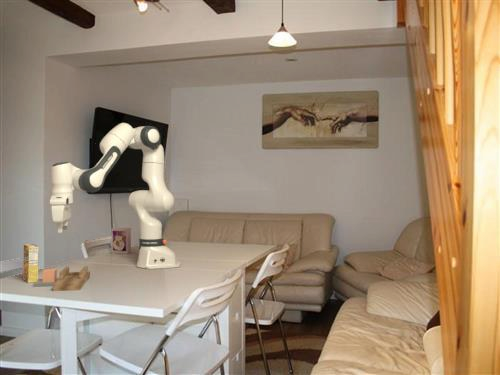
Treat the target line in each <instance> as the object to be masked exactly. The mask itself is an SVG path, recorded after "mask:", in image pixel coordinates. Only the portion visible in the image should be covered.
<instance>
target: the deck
mask: <svg viewBox="0 0 500 375" xmlns="http://www.w3.org/2000/svg"><path fill="white" fill-rule="evenodd" d="M88 268H89V267H88V265H85V266H83V268H82V269H81V270H80V271H70V266H65V267H64V268H63V269H61V271H59V277H58V278H59V280H57V281H56V282H55V283H54V284H53V286H52V291H55V292H56V291H61V292H62V291H80V290H81V289H82V288H83V287H84V285H86V283H87V282H88V280H90V278H91V271H89V270H88Z"/></svg>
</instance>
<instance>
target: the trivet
mask: <svg viewBox="0 0 500 375" xmlns="http://www.w3.org/2000/svg"><path fill="white" fill-rule="evenodd" d="M57 280H59V277H57ZM57 280H56V281H57ZM56 281H55V282H56ZM55 282H43V278H38V280H37V281H36V282H32V287H34V288H35V287H53V284H54V283H55Z"/></svg>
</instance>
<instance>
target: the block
mask: <svg viewBox="0 0 500 375" xmlns="http://www.w3.org/2000/svg"><path fill="white" fill-rule="evenodd" d="M57 272H58V269H57V268H45V269H44V270H42V279H43V282H55V281H56V280H57V278H58V273H57Z"/></svg>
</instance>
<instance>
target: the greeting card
mask: <svg viewBox="0 0 500 375" xmlns="http://www.w3.org/2000/svg"><path fill="white" fill-rule="evenodd" d="M131 249H132V227H118V228H117V227H112V228H111V253H113V254H114V253H115V254H125V255H126V254H128V253H131V252H132V250H131Z"/></svg>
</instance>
